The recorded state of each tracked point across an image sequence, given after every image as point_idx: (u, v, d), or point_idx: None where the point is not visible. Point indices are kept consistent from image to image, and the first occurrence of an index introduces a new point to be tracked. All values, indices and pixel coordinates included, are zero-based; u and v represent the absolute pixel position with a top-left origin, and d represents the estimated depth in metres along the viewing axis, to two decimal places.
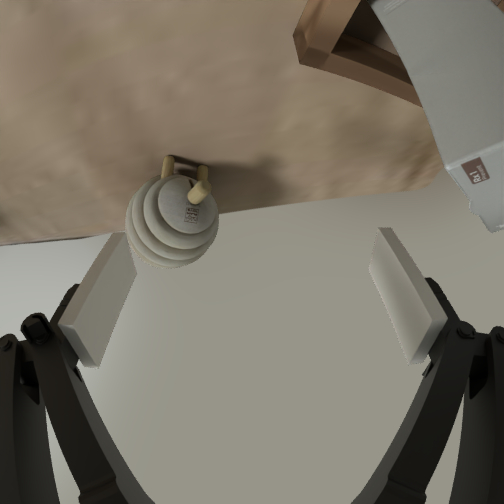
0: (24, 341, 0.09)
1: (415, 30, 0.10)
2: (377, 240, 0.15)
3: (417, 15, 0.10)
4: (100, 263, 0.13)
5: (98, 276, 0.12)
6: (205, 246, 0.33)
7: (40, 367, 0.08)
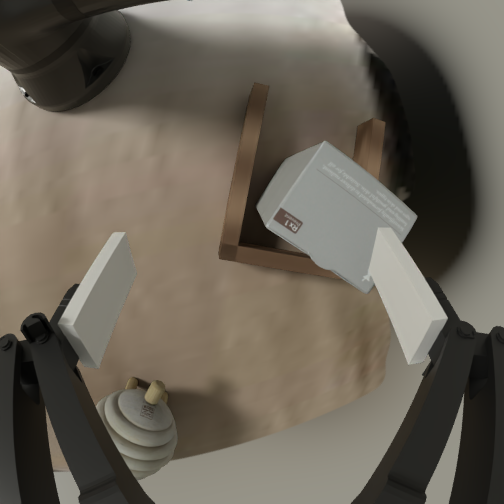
0: (24, 341, 0.09)
1: (267, 197, 0.25)
2: (377, 240, 0.15)
3: (270, 190, 0.25)
4: (100, 263, 0.13)
5: (98, 277, 0.12)
6: (162, 451, 0.26)
7: (40, 367, 0.08)
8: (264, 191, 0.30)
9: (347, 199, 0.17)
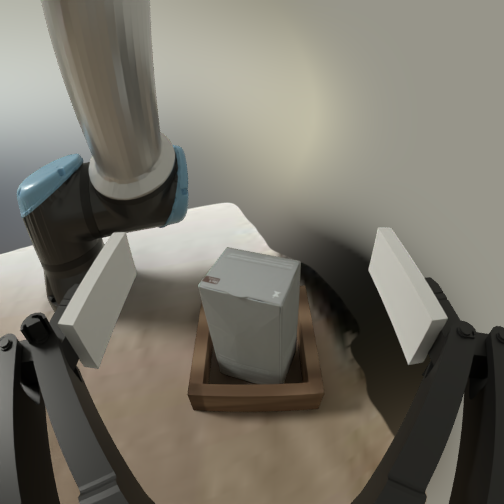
0: (24, 341, 0.09)
1: None
2: (377, 240, 0.15)
3: None
4: (100, 263, 0.13)
5: (98, 277, 0.12)
6: None
7: (40, 367, 0.08)
8: None
9: (246, 264, 0.29)
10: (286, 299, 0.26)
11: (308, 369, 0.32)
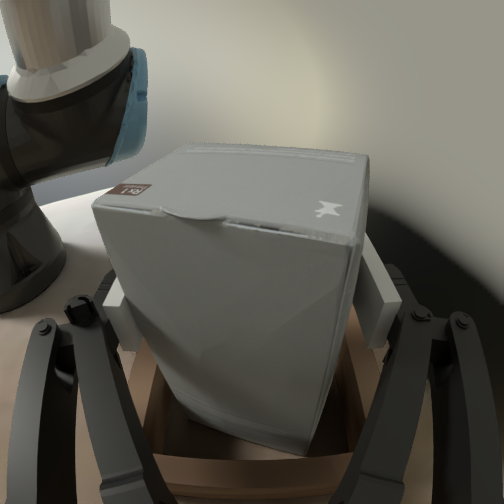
0: (62, 325, 0.10)
1: None
2: None
3: None
4: None
5: None
6: None
7: (80, 350, 0.09)
8: None
9: (229, 157, 0.11)
10: None
11: None
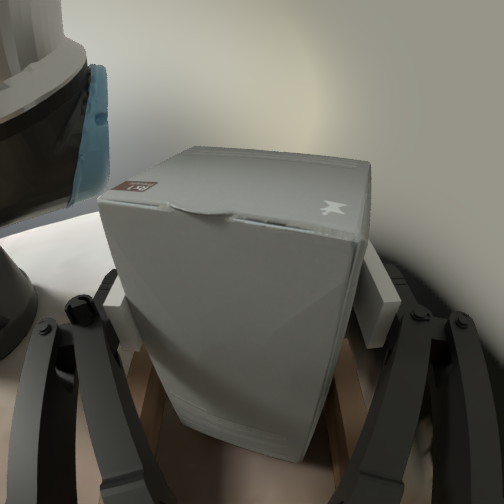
0: (63, 325, 0.10)
1: None
2: None
3: None
4: None
5: None
6: None
7: (80, 349, 0.09)
8: None
9: (234, 159, 0.11)
10: None
11: None
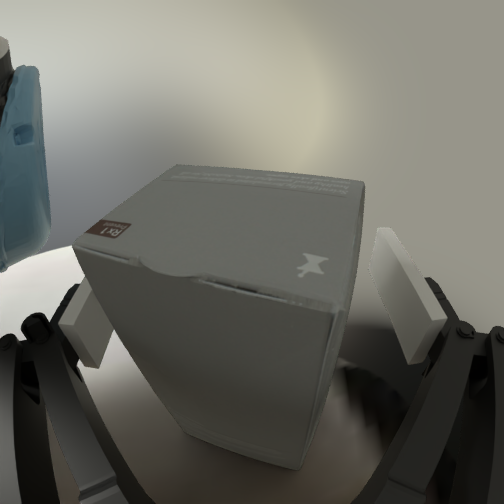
0: (24, 341, 0.09)
1: None
2: (377, 240, 0.15)
3: None
4: None
5: None
6: None
7: (40, 367, 0.08)
8: None
9: (213, 187, 0.10)
10: (351, 283, 0.06)
11: None
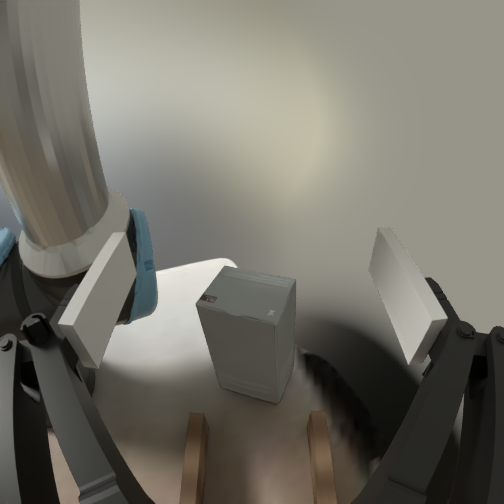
0: (24, 341, 0.09)
1: None
2: (377, 240, 0.15)
3: None
4: (100, 263, 0.13)
5: (98, 277, 0.12)
6: None
7: (40, 367, 0.08)
8: None
9: (242, 282, 0.30)
10: (281, 317, 0.26)
11: None
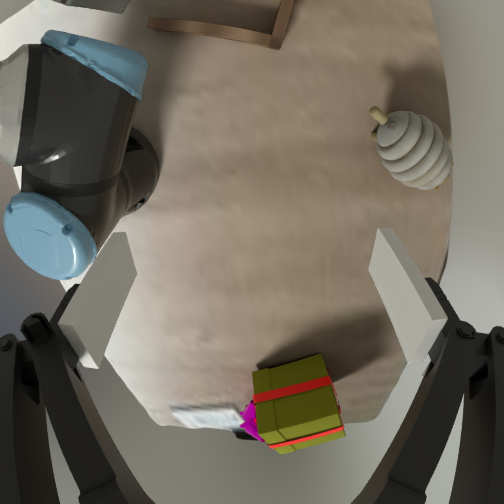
0: (24, 341, 0.09)
1: None
2: (377, 240, 0.15)
3: None
4: (100, 263, 0.13)
5: (98, 277, 0.12)
6: (427, 127, 0.32)
7: (40, 367, 0.08)
8: None
9: None
10: None
11: None
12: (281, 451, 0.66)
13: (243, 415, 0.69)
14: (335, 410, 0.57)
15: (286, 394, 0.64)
